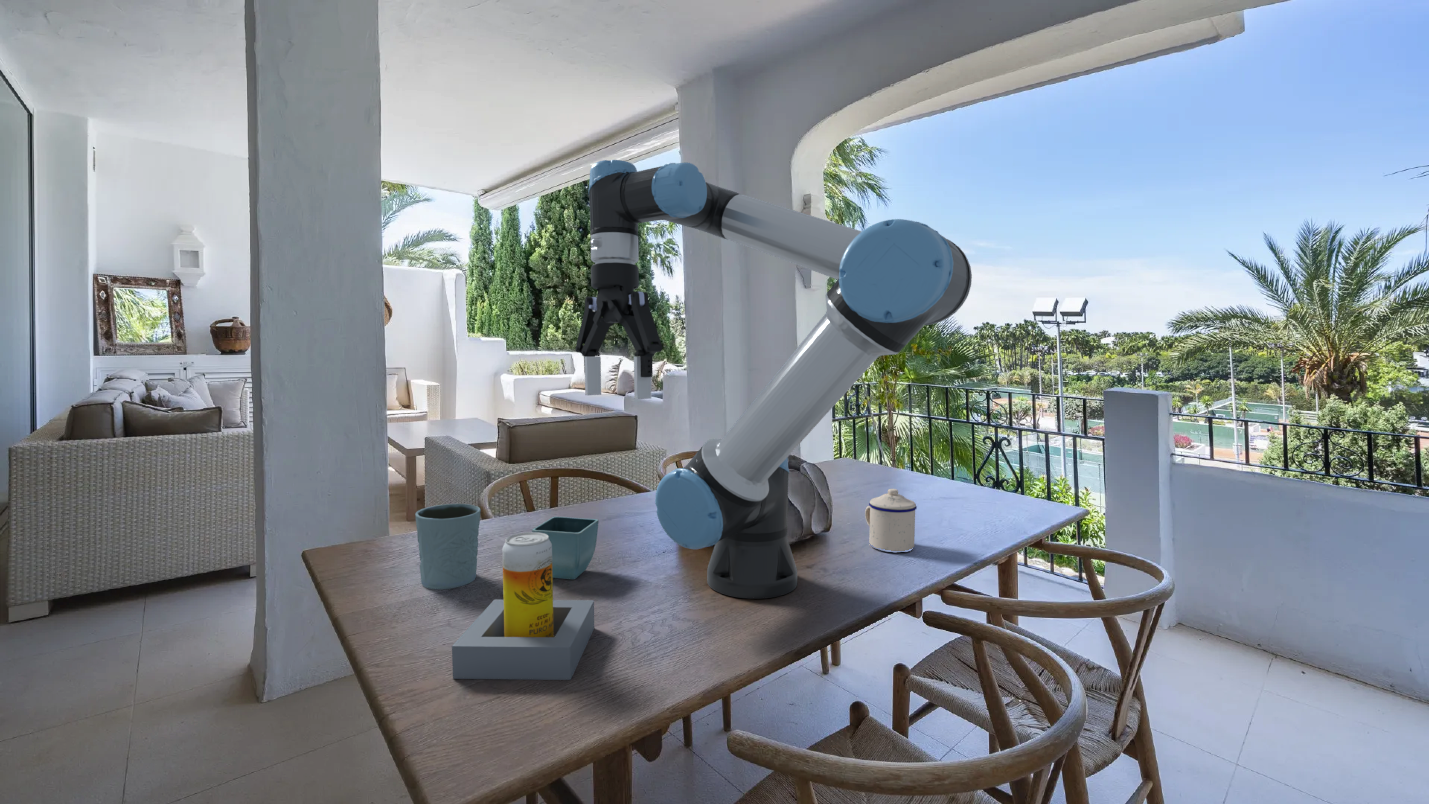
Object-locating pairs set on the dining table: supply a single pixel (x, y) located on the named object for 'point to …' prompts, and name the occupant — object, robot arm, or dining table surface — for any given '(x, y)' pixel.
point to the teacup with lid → (891, 521)
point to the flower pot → (570, 544)
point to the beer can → (528, 585)
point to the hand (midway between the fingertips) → (617, 397)
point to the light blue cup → (448, 544)
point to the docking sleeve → (524, 645)
